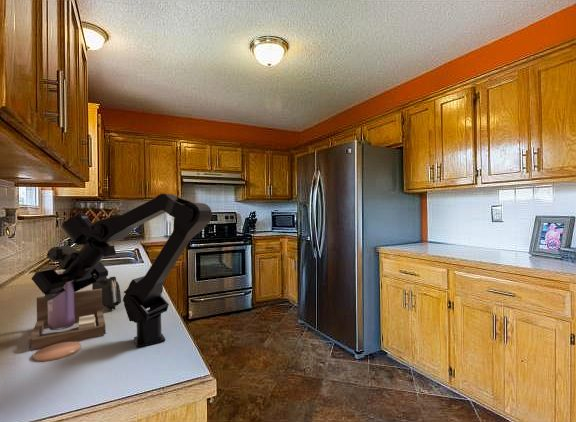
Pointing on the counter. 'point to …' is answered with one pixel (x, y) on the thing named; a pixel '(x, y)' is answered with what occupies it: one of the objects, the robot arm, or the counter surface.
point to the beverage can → (62, 308)
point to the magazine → (108, 291)
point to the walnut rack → (84, 306)
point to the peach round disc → (57, 351)
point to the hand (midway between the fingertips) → (56, 296)
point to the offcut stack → (87, 321)
